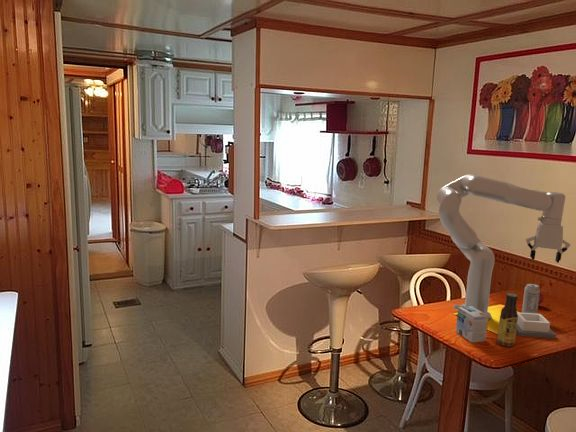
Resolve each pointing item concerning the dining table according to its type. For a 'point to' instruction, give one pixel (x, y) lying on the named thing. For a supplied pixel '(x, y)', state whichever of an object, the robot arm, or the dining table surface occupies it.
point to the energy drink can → (531, 299)
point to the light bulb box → (471, 324)
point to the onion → (540, 298)
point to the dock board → (533, 326)
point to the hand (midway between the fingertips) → (544, 260)
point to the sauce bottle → (508, 321)
